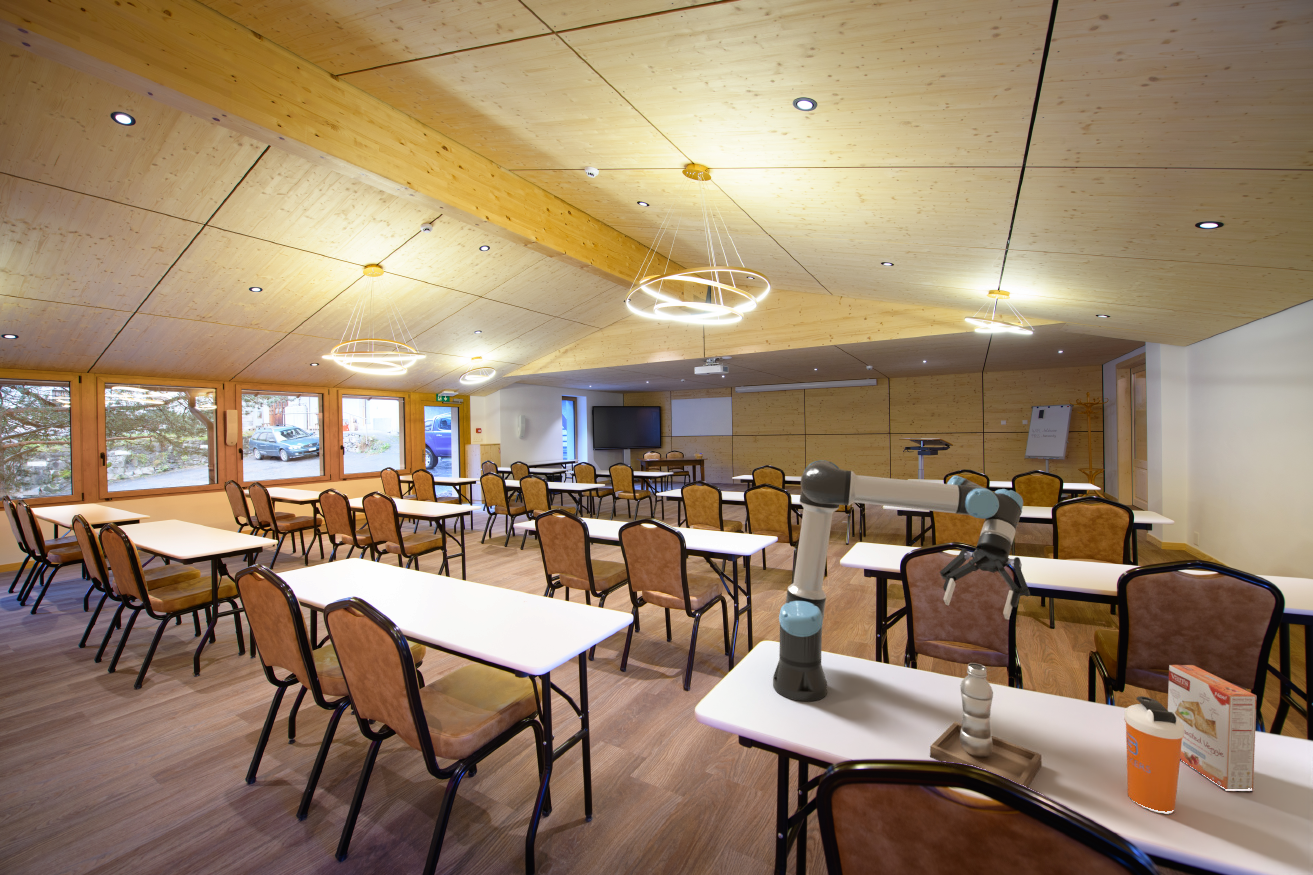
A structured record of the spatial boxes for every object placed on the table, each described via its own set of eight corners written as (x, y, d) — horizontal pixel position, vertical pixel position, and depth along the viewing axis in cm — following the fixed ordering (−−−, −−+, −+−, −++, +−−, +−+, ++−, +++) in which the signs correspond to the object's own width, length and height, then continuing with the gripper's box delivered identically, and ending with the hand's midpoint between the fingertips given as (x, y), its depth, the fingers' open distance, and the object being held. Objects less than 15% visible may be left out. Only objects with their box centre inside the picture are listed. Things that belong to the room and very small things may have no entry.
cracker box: (1164, 751, 128) (1167, 663, 127) (1190, 752, 127) (1194, 663, 127) (1224, 792, 114) (1228, 693, 113) (1254, 793, 113) (1258, 694, 113)
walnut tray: (930, 756, 126) (930, 745, 125) (954, 731, 136) (954, 721, 136) (1021, 796, 112) (1022, 784, 112) (1041, 765, 122) (1041, 754, 122)
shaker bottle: (1156, 788, 115) (1160, 694, 114) (1194, 819, 106) (1198, 718, 105) (1110, 785, 116) (1113, 692, 115) (1144, 816, 107) (1147, 715, 106)
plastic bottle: (981, 764, 121) (982, 675, 120) (952, 748, 127) (954, 663, 126) (999, 756, 124) (1001, 669, 123) (970, 740, 130) (972, 657, 129)
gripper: (1054, 557, 140) (1036, 631, 130) (949, 541, 158) (927, 604, 148) (1049, 539, 136) (1030, 614, 126) (942, 525, 154) (919, 589, 145)
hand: (974, 609), depth 137 cm, fingers open, 13 cm apart
